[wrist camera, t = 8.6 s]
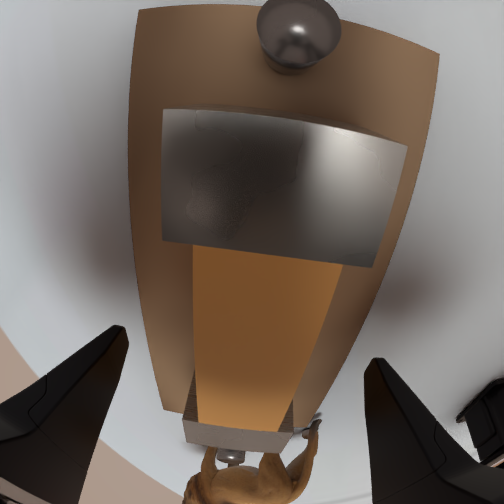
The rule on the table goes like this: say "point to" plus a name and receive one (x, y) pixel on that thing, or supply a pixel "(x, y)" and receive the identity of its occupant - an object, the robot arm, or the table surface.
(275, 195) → the hammer
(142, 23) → the board
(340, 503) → the table surface
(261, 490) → the lion figurine
